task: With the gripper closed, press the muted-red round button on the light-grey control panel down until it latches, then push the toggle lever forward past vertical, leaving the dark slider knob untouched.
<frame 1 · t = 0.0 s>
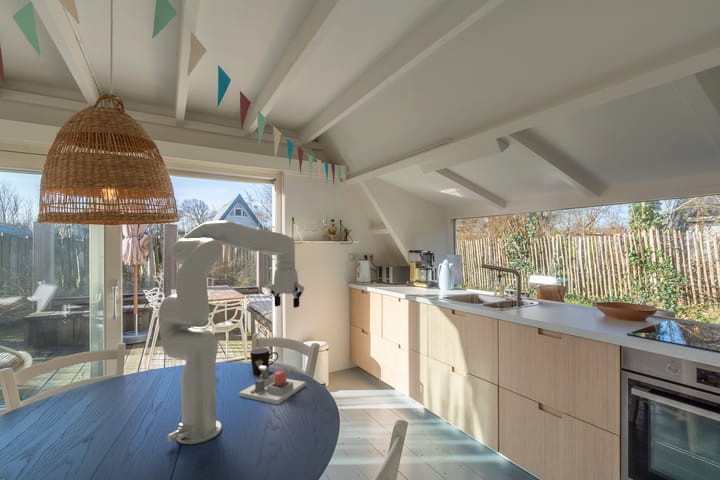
hand: (286, 306, 148), 31 cm above the table, fingers open, 9 cm apart
slider: (259, 385, 134), point 4 cm above the table, slide at -2.5 cm
coffee mug: (263, 373, 157), on the table
lever: (264, 373, 143), point 5 cm above the table, hinge at -25.0°
panel: (273, 390, 138), on the table
button: (280, 378, 134), point 6 cm above the table, slide at 0.0 cm
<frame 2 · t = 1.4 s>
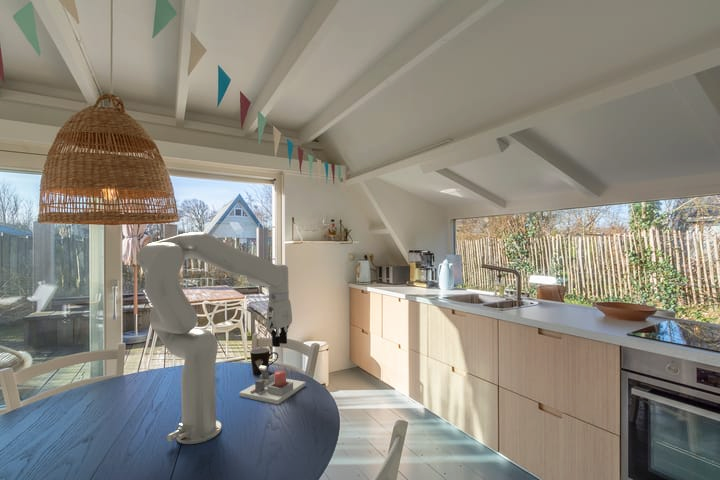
hand: (279, 344, 134), 19 cm above the table, fingers open, 3 cm apart
nothing on the table moved.
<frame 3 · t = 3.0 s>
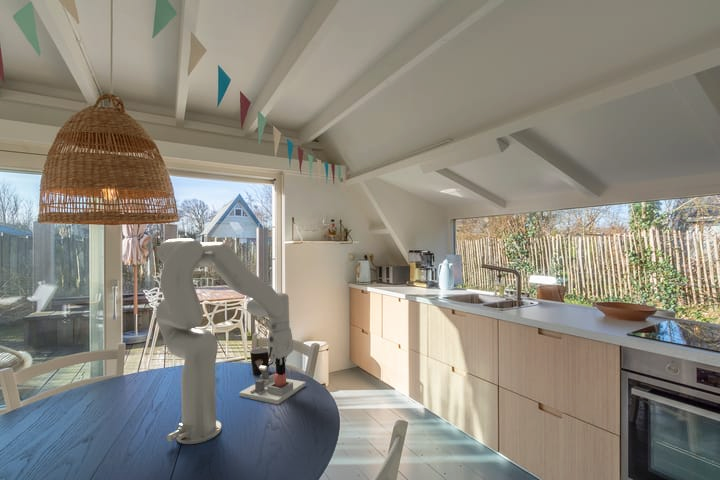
hand: (280, 373, 134), 8 cm above the table, fingers closed
button: (280, 379, 134), point 6 cm above the table, slide at 0.5 cm, touching gripper
everything else where it was.
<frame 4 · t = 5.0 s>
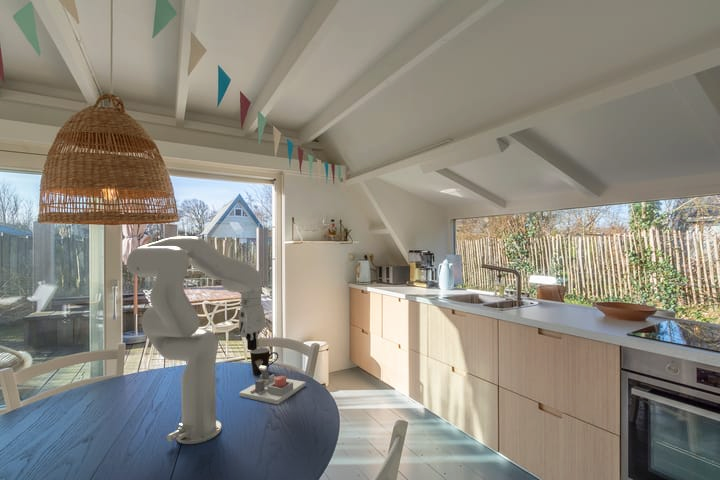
hand: (252, 349, 136), 17 cm above the table, fingers closed
button: (280, 383, 134), point 4 cm above the table, slide at 2.1 cm
everything else where it was.
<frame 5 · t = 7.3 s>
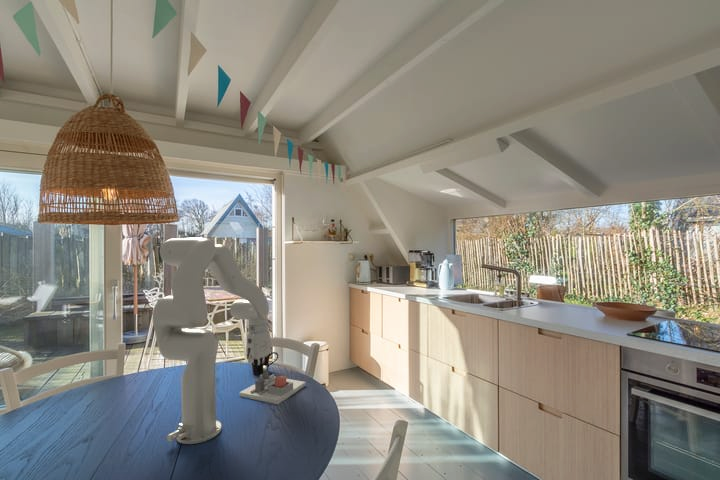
hand: (258, 373, 140), 6 cm above the table, fingers closed
lever: (265, 373, 143), point 5 cm above the table, hinge at -24.1°, touching gripper
everything else where it was.
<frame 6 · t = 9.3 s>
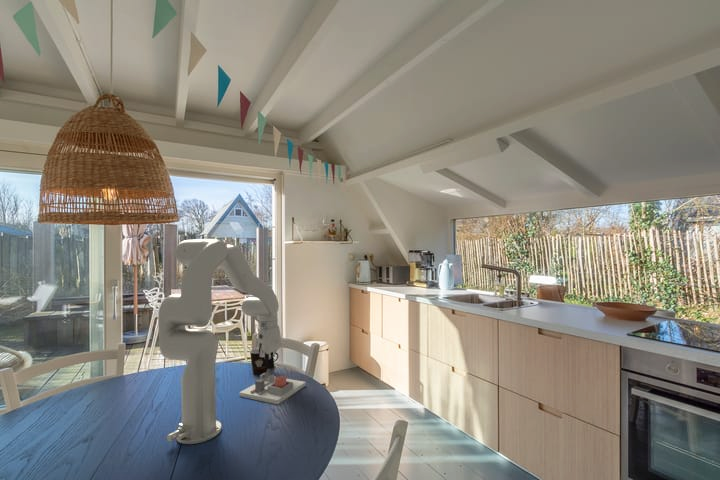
hand: (269, 367, 146), 6 cm above the table, fingers closed
lever: (270, 371, 146), point 5 cm above the table, hinge at 44.7°
everything else where it was.
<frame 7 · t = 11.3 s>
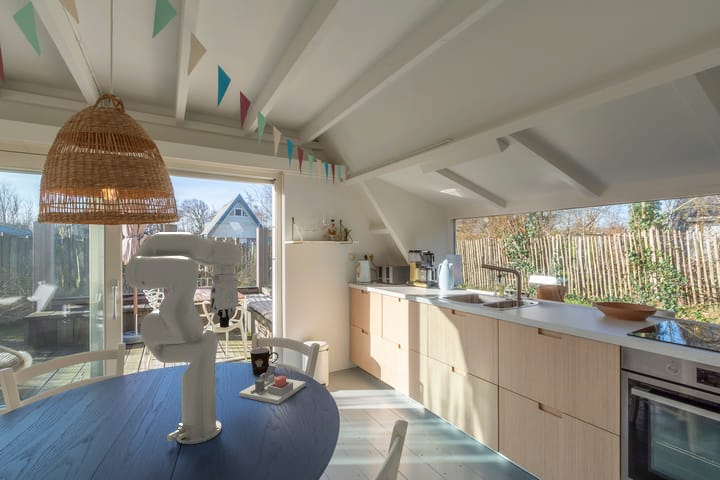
hand: (224, 326, 133), 27 cm above the table, fingers closed
lever: (270, 371, 146), point 5 cm above the table, hinge at 45.1°
everything else where it was.
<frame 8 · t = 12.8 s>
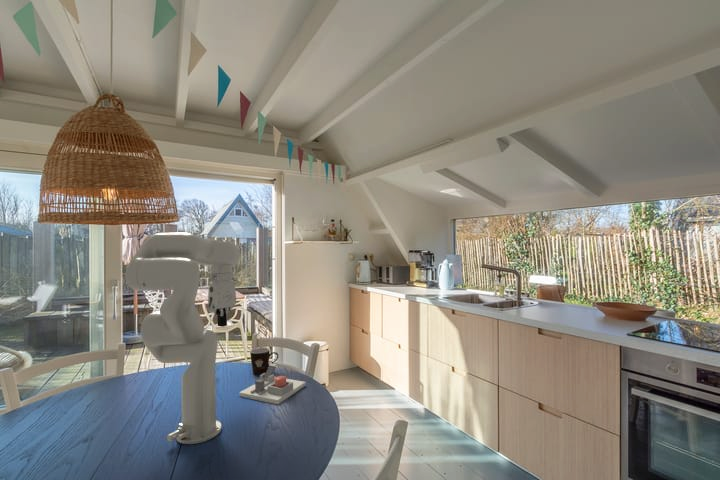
hand: (222, 325, 133), 27 cm above the table, fingers closed
nothing on the table moved.
at the end: lever at +45° (first picture: -25°); button slide at 2.1 cm; slider slide at -2.5 cm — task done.
